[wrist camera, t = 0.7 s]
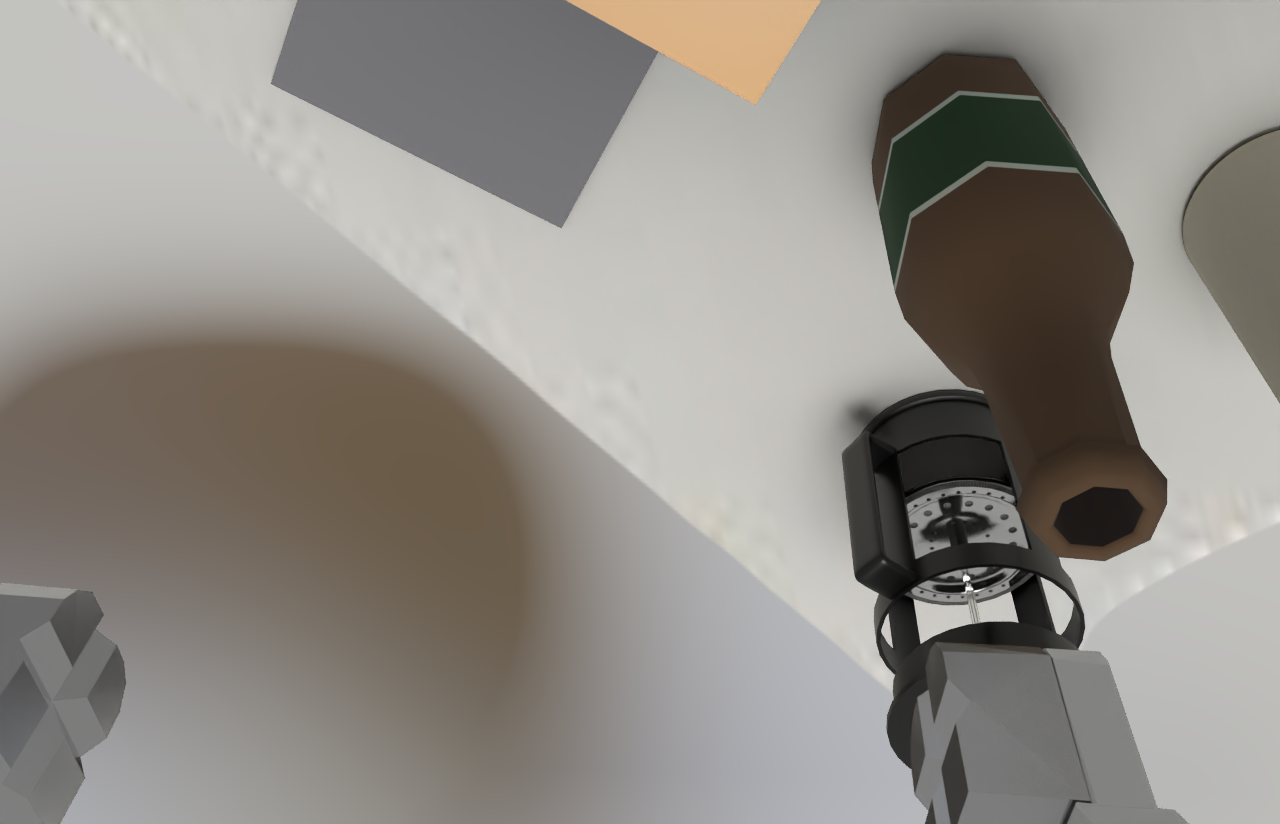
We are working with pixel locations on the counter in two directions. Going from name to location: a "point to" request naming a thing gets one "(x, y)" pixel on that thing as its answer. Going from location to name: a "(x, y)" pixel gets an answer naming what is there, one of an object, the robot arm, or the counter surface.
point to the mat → (472, 86)
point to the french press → (944, 545)
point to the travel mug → (1242, 246)
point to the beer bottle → (1018, 291)
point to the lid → (713, 35)
